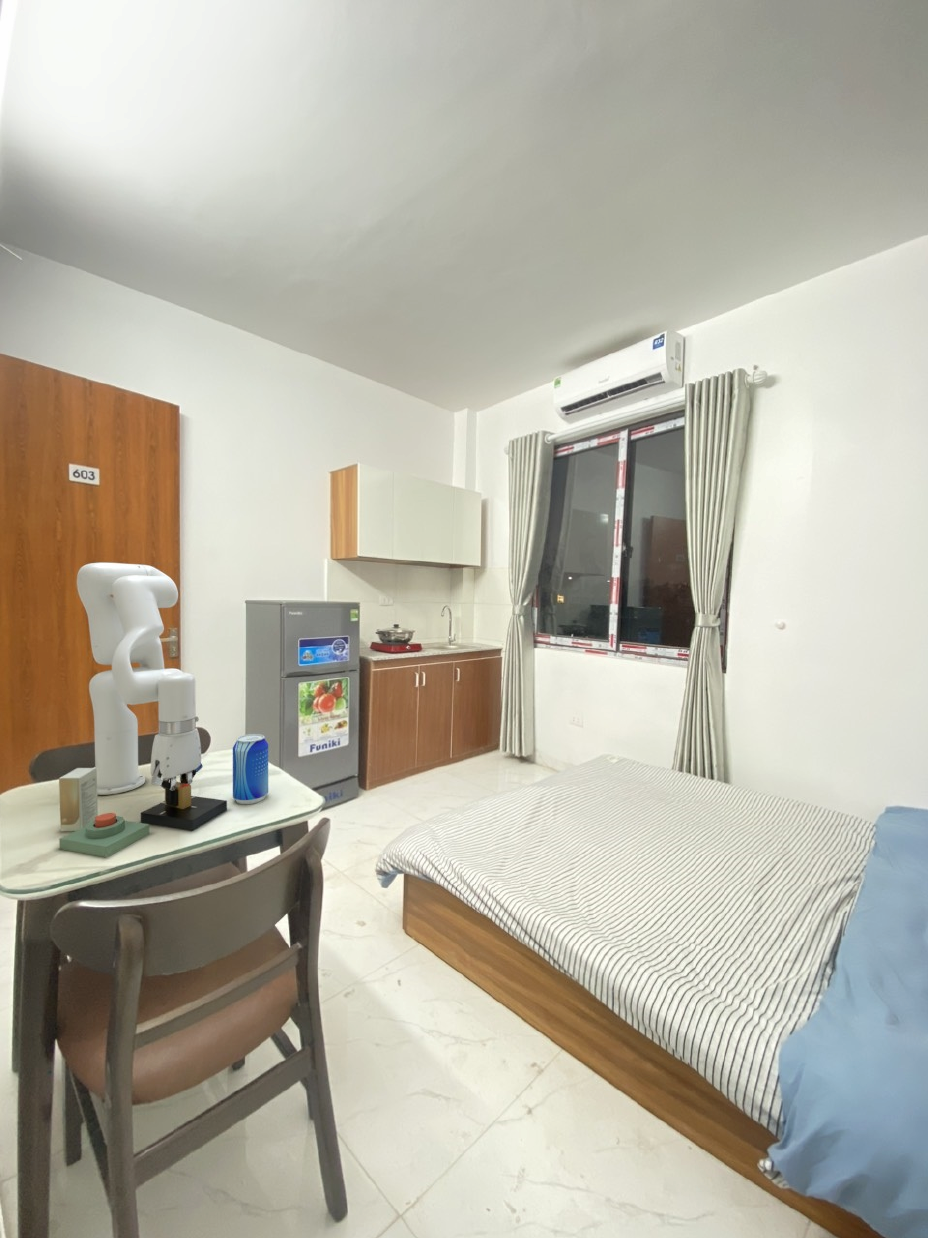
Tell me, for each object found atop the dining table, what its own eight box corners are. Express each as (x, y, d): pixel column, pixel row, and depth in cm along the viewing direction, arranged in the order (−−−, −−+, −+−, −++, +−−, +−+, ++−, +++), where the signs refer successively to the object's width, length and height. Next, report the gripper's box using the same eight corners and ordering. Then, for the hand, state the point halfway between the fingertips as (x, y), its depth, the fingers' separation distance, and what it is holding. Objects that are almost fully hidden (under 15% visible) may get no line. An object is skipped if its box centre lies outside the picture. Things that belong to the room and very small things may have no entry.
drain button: (90, 827, 103) (90, 819, 103) (106, 819, 107) (106, 812, 106) (104, 829, 102) (104, 821, 102) (120, 822, 106) (120, 814, 106)
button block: (59, 849, 101) (58, 830, 101) (105, 827, 111) (104, 809, 111) (106, 857, 98) (106, 838, 98) (149, 834, 108) (149, 816, 108)
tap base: (140, 823, 113) (140, 812, 113) (178, 803, 124) (178, 793, 123) (192, 831, 110) (192, 819, 109) (227, 810, 120) (227, 799, 120)
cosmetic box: (79, 819, 114) (78, 767, 114) (99, 818, 115) (98, 767, 114) (58, 832, 108) (57, 777, 107) (79, 832, 108) (78, 777, 108)
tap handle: (164, 804, 117) (164, 783, 117) (173, 801, 119) (173, 779, 119) (182, 809, 115) (182, 787, 114) (191, 805, 117) (191, 783, 117)
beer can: (255, 807, 122) (255, 743, 122) (225, 803, 124) (225, 740, 123) (274, 794, 131) (274, 734, 130) (246, 790, 132) (246, 731, 131)
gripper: (195, 716, 125) (196, 788, 126) (132, 732, 110) (133, 813, 111) (217, 720, 122) (218, 793, 123) (155, 737, 107) (156, 820, 108)
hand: (178, 802), depth 117 cm, fingers closed on tap handle, 2 cm apart
